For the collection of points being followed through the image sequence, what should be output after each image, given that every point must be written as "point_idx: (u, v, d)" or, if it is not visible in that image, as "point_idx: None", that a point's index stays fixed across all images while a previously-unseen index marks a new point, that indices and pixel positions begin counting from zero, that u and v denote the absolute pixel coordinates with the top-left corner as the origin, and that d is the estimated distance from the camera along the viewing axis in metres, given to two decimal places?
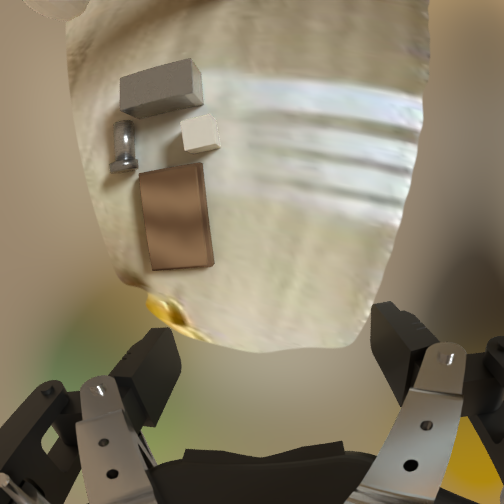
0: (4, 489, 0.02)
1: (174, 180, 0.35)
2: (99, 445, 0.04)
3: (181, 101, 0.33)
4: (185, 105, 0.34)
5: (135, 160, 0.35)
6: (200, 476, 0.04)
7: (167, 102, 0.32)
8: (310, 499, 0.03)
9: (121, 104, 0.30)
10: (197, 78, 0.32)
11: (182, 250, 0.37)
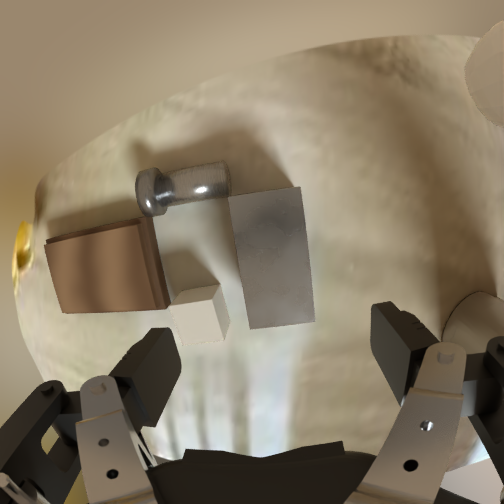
0: (4, 489, 0.02)
1: (136, 281, 0.25)
2: (99, 445, 0.04)
3: None
4: None
5: (159, 215, 0.24)
6: (200, 476, 0.04)
7: None
8: (310, 499, 0.03)
9: (240, 198, 0.19)
10: None
11: (66, 286, 0.26)
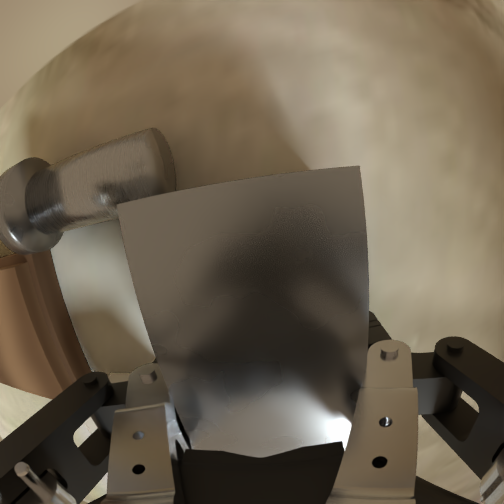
0: (23, 477, 0.03)
1: (33, 359, 0.11)
2: (133, 438, 0.04)
3: None
4: None
5: (41, 251, 0.10)
6: (200, 476, 0.04)
7: None
8: (310, 499, 0.03)
9: (151, 208, 0.05)
10: None
11: None
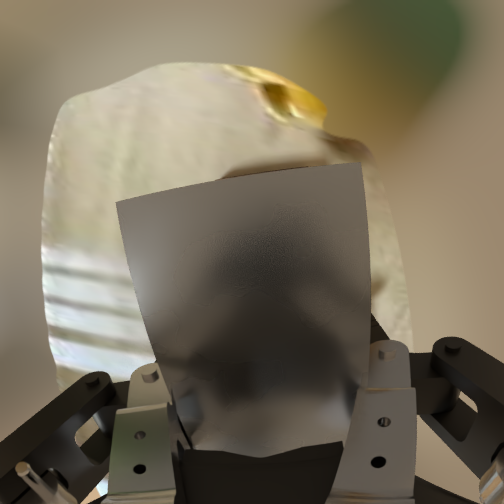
0: (24, 477, 0.03)
1: None
2: (135, 438, 0.04)
3: None
4: None
5: None
6: (200, 476, 0.04)
7: None
8: (310, 499, 0.03)
9: (151, 205, 0.05)
10: None
11: None
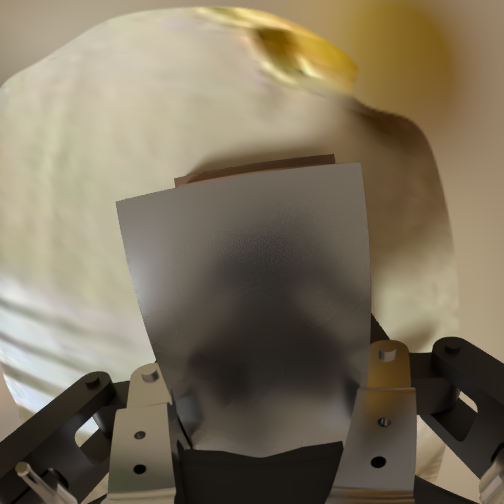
0: (24, 477, 0.03)
1: None
2: (134, 437, 0.04)
3: None
4: None
5: None
6: (200, 476, 0.04)
7: None
8: (310, 499, 0.03)
9: (151, 205, 0.05)
10: None
11: None
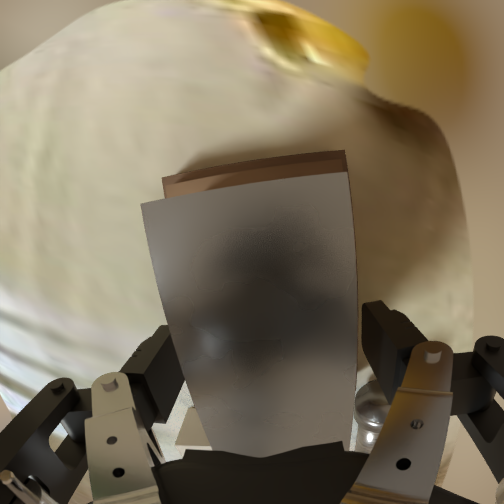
0: (8, 486, 0.03)
1: None
2: (107, 443, 0.04)
3: None
4: None
5: (355, 418, 0.15)
6: (200, 476, 0.04)
7: None
8: (310, 499, 0.03)
9: (172, 207, 0.07)
10: None
11: None
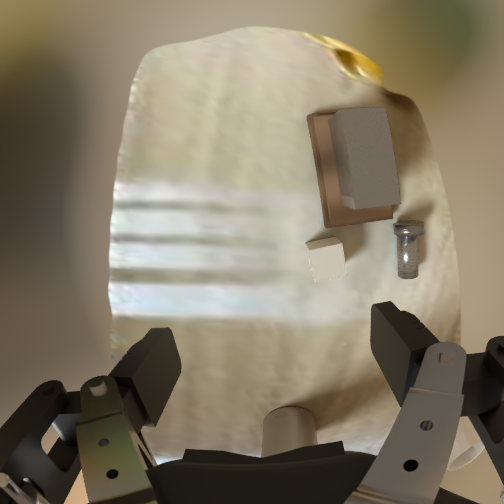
0: (4, 489, 0.02)
1: (353, 210, 0.32)
2: (99, 446, 0.04)
3: (345, 185, 0.28)
4: (341, 184, 0.30)
5: (396, 233, 0.33)
6: (200, 476, 0.04)
7: (345, 170, 0.27)
8: (310, 499, 0.03)
9: (347, 110, 0.24)
10: None
11: None
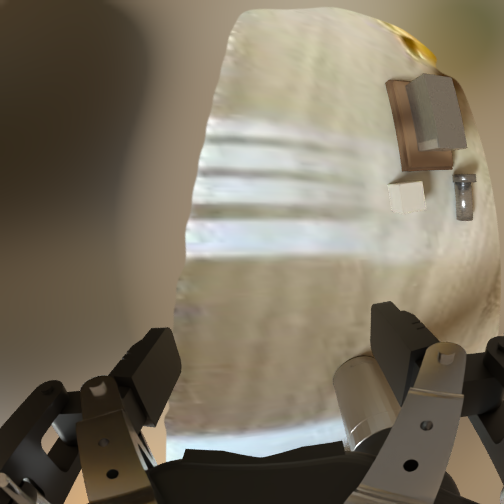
0: (4, 490, 0.02)
1: (426, 157, 0.33)
2: (99, 445, 0.04)
3: (426, 132, 0.30)
4: (419, 134, 0.32)
5: (456, 181, 0.34)
6: (200, 476, 0.04)
7: (427, 119, 0.29)
8: (310, 499, 0.03)
9: (428, 75, 0.25)
10: (445, 149, 0.30)
11: None
